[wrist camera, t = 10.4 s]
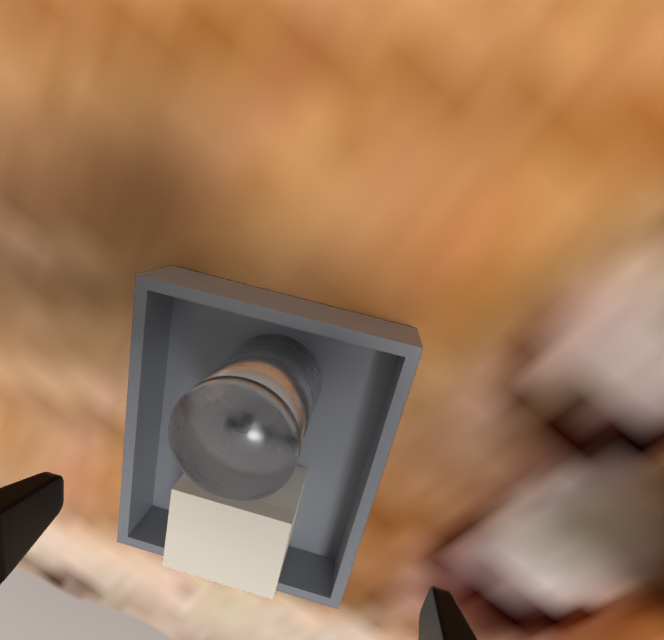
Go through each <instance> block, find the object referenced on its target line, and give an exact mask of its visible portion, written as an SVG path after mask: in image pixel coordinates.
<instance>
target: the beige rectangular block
mask: <svg viewBox="0 0 664 640" xmlns="http://www.w3.org/2000/svg"><path fill="white" fill-rule="evenodd" d="M307 471H308V468H304V467H301V466H296V468H295V471H294V473H293V475H292V477H291V478H290V479H289V481H288V482H287V483H286V484H285V485H284V486H283V487H282V488H281V489H280V490H278V491H277V492H276V493H274V494H272V495H270V496H268V497H265V498H262V499H258V500H253V501H235V500H229V499H225V498H221V497H218V496H215V495H213V494H211V493H209V492H207V491H205V490H204V489H202V488H200V487H199V486H198V485H196V484H195V483H194V482H193V481H191V480H190V479H189V478H188V477H187V476H186V475H185V473H183V475H182V476H181V477H180V479H179V480H178V481H177V483H176V484H175V485H174V486H173V488H172V489H171V498H170V506H169V514H168V523H167V531H166V539H165V548H164V556H163V564H162V566H164V567H168V568H171V569H174V570H178V571H181V572H184V573H187V574H191V575H194V576H197V577H200V578H204V579H207V580H210V581H213V582H217V583H220V584H223V585H226V586H230V587H233V588H236V589H239V590H243V591H246V592H249V593H252V594H256V595H259V596H262V597H266V598H269V599H272V600H273V599H274V595H275V591H276V588H277V584H278V581H279V577H280V574H281V570H282V566H283V563H284V559H285V556H286V552H287V549H288V545H289V542H290V538H291V534H292V530H293V526H294V522H295V518H296V514H297V510H298V506H299V502H300V498H301V494H302V490H303V487H304V483H305V479H306V475H307Z"/></svg>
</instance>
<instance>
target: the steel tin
mask: <svg viewBox="0 0 664 640" xmlns="http://www.w3.org/2000/svg"><path fill="white" fill-rule="evenodd" d="M321 386H322V378H321V372H320V368H319V366H318V363H317V361H316V359H315V358H314V356H313V355H312V354H311V352H310V351H309V350H308V349H307V348H306V347H305V346H303V345H302V344H301V343H299V342H298V341H296V340H294V339H292V338H289V337H286V336H283V335H276V334H268V335H261V336H258V337H255V338H253V339H251V340H249V341H248V342H246V343H245V344H244V345H243V346H242V347H241V348H239V349H238V350H237V351H236V352H235V353H234V354H233V355H232V356H231V357H229V358H228V359H227V360H226V361H225V362H224V363H223V364H222V365H220V366H219V367H218V368H217V369H216V370H215V371H214V372H213V373H212V374H210V375H209V376H208V377H207V378H206V379H205V380H204V381H202V382H200V383H198V384H196V385H195V386H194V387H192V388H191V389H190V390H189V391H188V392H186V393H185V394H184V395H183V396H182V397H181V398H180V399H179V400H178V402H177V403H176V404H175V406H174V408H173V410H172V412H171V415H170V418H169V423H168V441H169V445H170V449H171V452H172V454H173V457H174V459H175V460H176V462H177V464H178V465H179V467H180V468H181V470H182V471H183V472H184V473H185V475H186V476H187V477H188V478H189V479H190V480H191V481H193V482H194V483H195V484H196V485H198V486H199V487H200V488H202V489H204V490H205V491H207V492H209V493H211V494H213V495H215V496H218V497H221V498H225V499H229V500H235V501H253V500H258V499H262V498H265V497H268V496H270V495H272V494H274V493H276V492H277V491H278V490H280V489H281V488H282V487H283V486H284V485H285V484H286V483H287V482H288V481H289V479H290V478H291V477H292V475H293V473H294V471H295V468H296V466H297V463H298V460H299V456H300V452H301V444H302V441H303V439H304V436H305V433H306V430H307V428H308V425H309V422H310V419H311V417H312V414H313V411H314V408H315V406H316V403H317V400H318V397H319V394H320V391H321Z"/></svg>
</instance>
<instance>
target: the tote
mask: <svg viewBox="0 0 664 640" xmlns="http://www.w3.org/2000/svg"><path fill="white" fill-rule="evenodd" d="M268 334H276V335H283V336H286V337H289V338H292V339H294V340H296V341H298V342H299V343H301V344H302V345H303V346H305V347H306V348H307V349H308V350H309V351H310V352H311V354H312V355H313V356H314V358H315V359H316V361H317V363H318V366H319V368H320V372H321V378H322V386H321V391H320V394H319V397H318V400H317V403H316V406H315V408H314V411H313V414H312V417H311V419H310V422H309V425H308V428H307V430H306V433H305V436H304V439H303V441H302V444H301V452H300V456H299V460H298V463H297V466H301V467H304V468H308V471H307V475H306V479H305V483H304V487H303V490H302V494H301V498H300V502H299V506H298V510H297V514H296V518H295V522H294V526H293V530H292V534H291V538H290V542H289V545H288V549H287V552H286V556H285V559H284V563H283V566H282V570H281V574H280V577H279V581H278V584H277V588H276V590H277V591H280V592H283V593H287V594H290V595H293V596H297V597H300V598H303V599H306V600H310V601H313V602H316V603H319V604H323V605H326V606H329V607H333V608H336V609H339V606H340V603H341V599H342V596H343V593H344V590H345V587H346V584H347V581H348V578H349V575H350V572H351V569H352V566H353V563H354V560H355V556H356V553H357V550H358V547H359V544H360V541H361V538H362V535H363V532H364V529H365V526H366V523H367V520H368V516H369V513H370V510H371V507H372V504H373V501H374V498H375V495H376V492H377V489H378V486H379V483H380V480H381V477H382V473H383V470H384V467H385V464H386V461H387V458H388V455H389V452H390V449H391V446H392V443H393V440H394V437H395V433H396V430H397V427H398V424H399V421H400V418H401V415H402V412H403V409H404V406H405V403H406V400H407V397H408V394H409V390H410V387H411V384H412V381H413V378H414V375H415V372H416V369H417V366H418V363H419V360H420V357H421V354H422V350H423V346H422V343H421V340H420V337H419V334H418V331H417V328H414V327H410V326H406V325H402V324H398V323H394V322H391V321H387V320H383V319H379V318H375V317H371V316H367V315H363V314H359V313H355V312H352V311H348V310H344V309H340V308H336V307H332V306H328V305H324V304H320V303H316V302H312V301H309V300H305V299H301V298H297V297H293V296H289V295H285V294H281V293H277V292H273V291H270V290H266V289H262V288H258V287H254V286H250V285H246V284H242V283H238V282H234V281H230V280H227V279H223V278H219V277H215V276H211V275H207V274H203V273H199V272H195V271H191V270H188V269H184V268H180V267H176V266H168V267H163V268H159V269H155V270H151V271H146V272H142V273H138V274H136V279H135V293H134V307H133V322H132V336H131V351H130V365H129V379H128V394H127V408H126V422H125V437H124V451H123V466H122V480H121V494H120V509H119V523H118V537H117V542H120V543H123V544H126V545H129V546H133V547H136V548H139V549H142V550H146V551H149V552H152V553H156V554H159V555H162V556H164V548H165V539H166V531H167V523H168V514H169V506H170V498H171V489H172V488H173V486H174V485H175V484H176V483H177V481H178V480H179V479H180V477H181V476H182V475H183V473H184V472H183V471H182V470H181V468H180V467H179V465H178V464H177V462H176V460H175V459H174V457H173V454H172V452H171V449H170V445H169V441H168V423H169V418H170V415H171V412H172V410H173V408H174V406H175V404H176V403H177V402H178V400H179V399H180V398H181V397H182V396H183V395H184V394H185V393H186V392H188V391H189V390H190V389H191V388H192V387H194V386H195V385H196V384H198V383H200V382H202V381H204V380H205V379H206V378H207V377H208V376H209V375H210V374H212V373H213V372H214V371H215V370H216V369H217V368H218V367H219V366H220V365H222V364H223V363H224V362H225V361H226V360H227V359H228V358H229V357H231V356H232V355H233V354H234V353H235V352H236V351H237V350H238V349H239V348H241V347H242V346H243V345H244V344H245V343H246V342H248V341H249V340H251V339H253V338H255V337H258V336H261V335H268Z"/></svg>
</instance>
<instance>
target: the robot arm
mask: <svg viewBox="0 0 664 640" xmlns="http://www.w3.org/2000/svg"><path fill="white" fill-rule="evenodd" d="M63 501H64V481H63V478H62V476H60V475H57V474H53V473H50V472H43V473H40V474H37V475H34V476H31V477H29V478H26V479H23V480H21V481H18V482H15V483H13V484H10V485H7V486H4V487H2V488H0V584H1V583H2V582H3V581H4V580H5V579H6V578H7V576H8V575H9V574H10V573H11V572H12V571H13V569H14V568H15V567H16V566H17V564H18V563H19V562H20V561H21V559H22V558H23V557H24V556H25V555H26V553H27V552H28V551H29V550H30V548H31V547H32V546H33V545H34V543H35V542H36V541H37V540H38V538H39V537H40V536H41V535H42V533H43V532H44V531H45V530H46V528H47V527H48V526H49V525H50V523H51V522H52V521H53V520H54V518H55V517H56V516H57V515H58V513H59V512H60V510H61V508H62V506H63ZM419 640H478V639H477V638H476V636H475V634H474V632H473V631H472V629H471V627H470V625H469V624H468V622H467V620H466V618H465V616H464V615H463V613H462V611H461V609H460V608H459V606H458V604H457V602H456V601H455V599H454V597H453V595H452V594H451V593H450V592H449V591H448V590H445V589H442V588H439V587H435V586H432V587H431V588H430V589H429V591H428V594H427V596H426V599H425V601H424V604H423V606H422V609H421V612H420V617H419Z"/></svg>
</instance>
